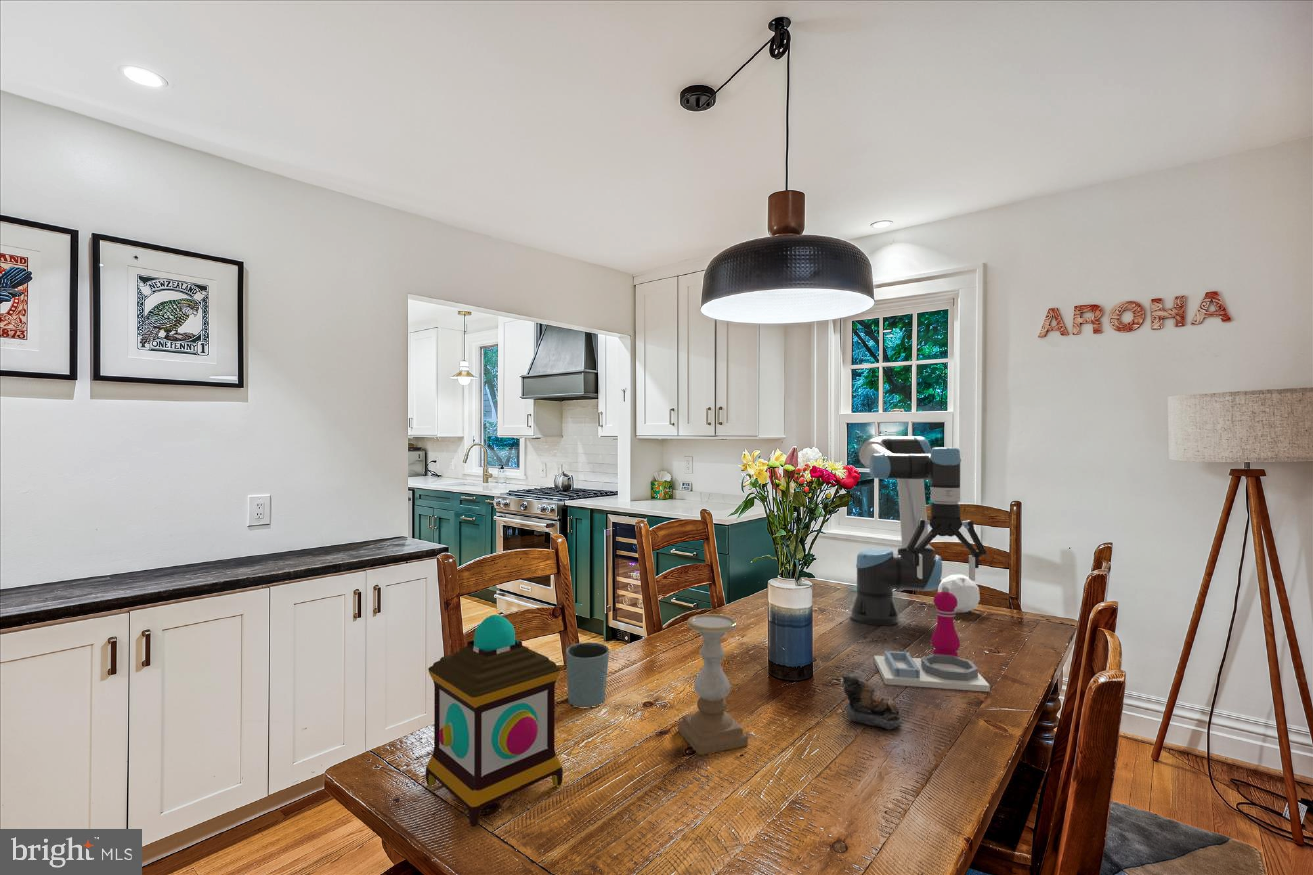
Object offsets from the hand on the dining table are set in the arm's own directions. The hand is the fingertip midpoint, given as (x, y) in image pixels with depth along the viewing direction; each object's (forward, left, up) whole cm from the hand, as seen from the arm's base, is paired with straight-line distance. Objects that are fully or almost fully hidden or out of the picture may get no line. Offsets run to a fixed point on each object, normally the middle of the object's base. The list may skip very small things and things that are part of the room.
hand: (945, 579), depth 167 cm
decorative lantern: (+81, -96, -22) cm, 127 cm away
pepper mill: (0, 0, -22) cm, 22 cm away
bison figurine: (+45, -27, -22) cm, 57 cm away
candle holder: (+57, -60, -22) cm, 86 cm away
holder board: (+14, -8, -22) cm, 27 cm away
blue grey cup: (+45, -90, -22) cm, 103 cm away
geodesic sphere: (-50, +18, -22) cm, 58 cm away
